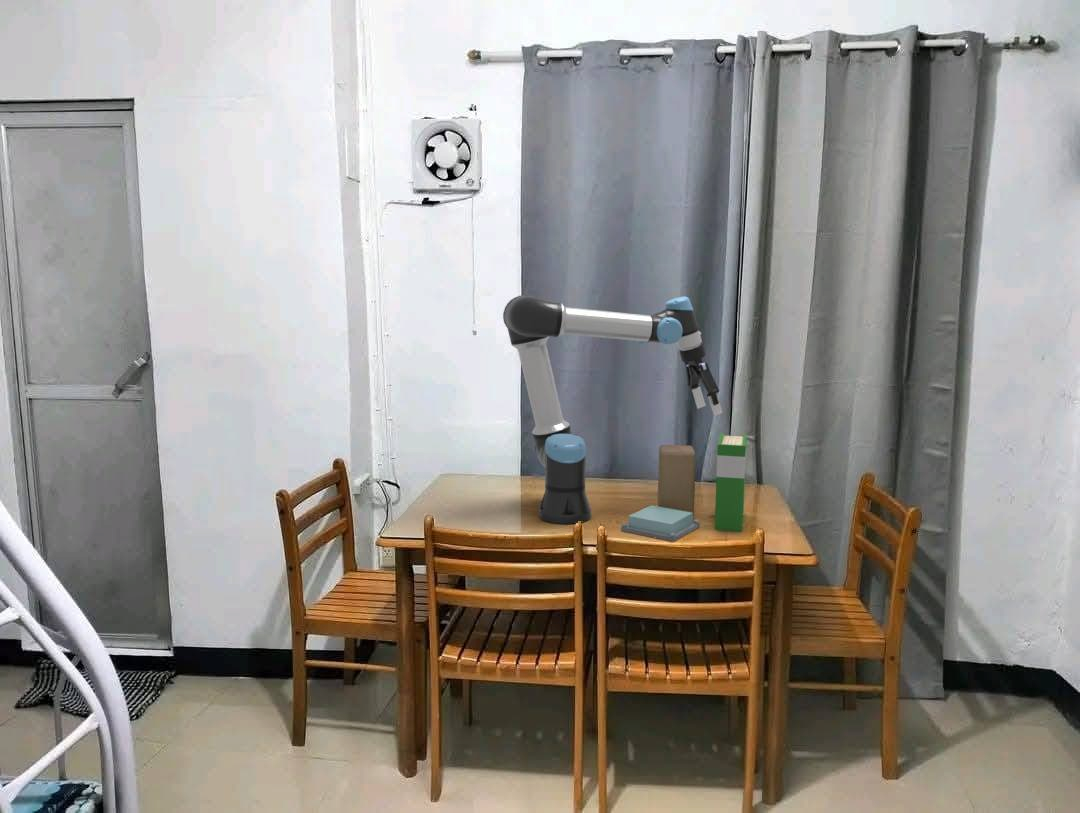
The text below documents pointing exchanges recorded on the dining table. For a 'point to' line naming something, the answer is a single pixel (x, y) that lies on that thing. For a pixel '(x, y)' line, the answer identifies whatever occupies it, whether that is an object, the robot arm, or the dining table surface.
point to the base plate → (661, 523)
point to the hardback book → (730, 482)
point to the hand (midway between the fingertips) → (709, 410)
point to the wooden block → (676, 477)
